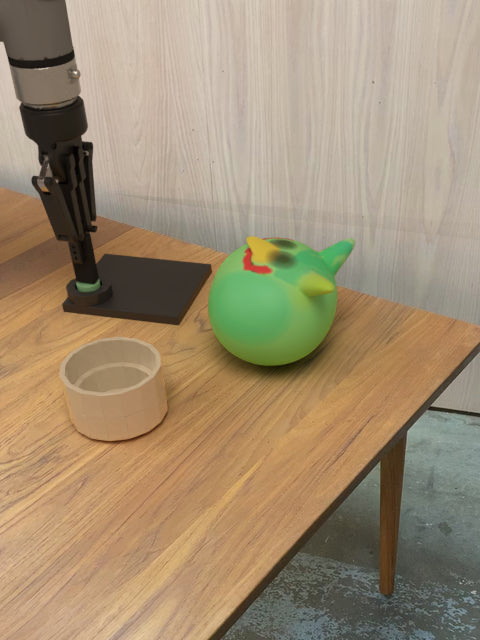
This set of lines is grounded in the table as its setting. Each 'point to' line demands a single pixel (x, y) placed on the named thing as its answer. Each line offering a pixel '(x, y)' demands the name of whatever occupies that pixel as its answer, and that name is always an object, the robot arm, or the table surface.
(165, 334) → the table surface
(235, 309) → the toy bird
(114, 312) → the scale
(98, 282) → the button
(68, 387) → the bowl
